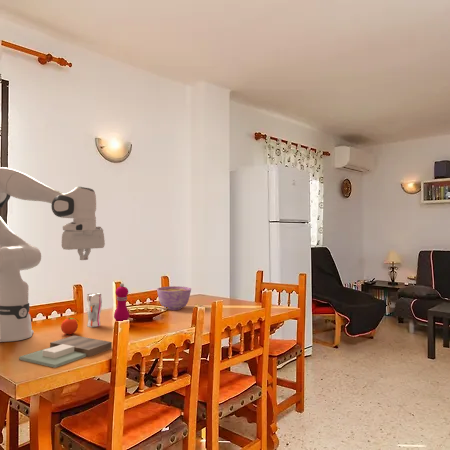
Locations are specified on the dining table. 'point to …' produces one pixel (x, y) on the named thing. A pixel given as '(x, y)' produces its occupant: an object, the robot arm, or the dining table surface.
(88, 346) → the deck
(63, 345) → the white rectangular block
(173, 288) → the bowl of food
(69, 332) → the tomato
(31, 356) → the mat
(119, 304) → the pepper mill
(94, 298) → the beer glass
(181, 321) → the dining table surface
